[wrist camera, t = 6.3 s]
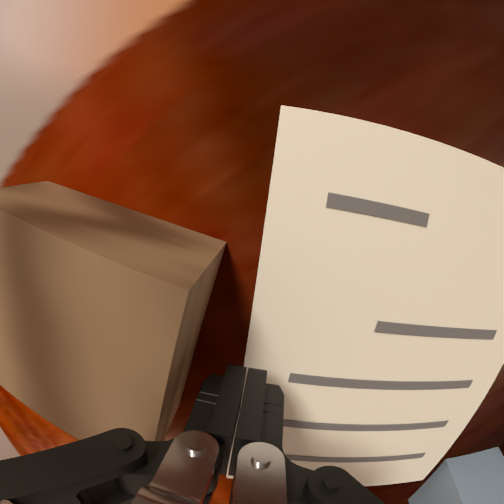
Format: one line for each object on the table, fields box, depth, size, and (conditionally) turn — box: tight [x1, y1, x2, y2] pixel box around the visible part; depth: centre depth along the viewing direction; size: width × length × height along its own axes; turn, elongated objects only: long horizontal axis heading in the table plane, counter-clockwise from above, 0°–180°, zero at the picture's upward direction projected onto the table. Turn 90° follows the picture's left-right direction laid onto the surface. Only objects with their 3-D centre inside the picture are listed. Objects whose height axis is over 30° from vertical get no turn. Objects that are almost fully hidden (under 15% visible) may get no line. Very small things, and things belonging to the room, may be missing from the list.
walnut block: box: [0, 181, 227, 441], centre depth 10 cm, size 9×9×5 cm
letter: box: [226, 105, 504, 486], centre depth 12 cm, size 14×20×1 cm
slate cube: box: [408, 447, 504, 504], centre depth 12 cm, size 6×6×6 cm
